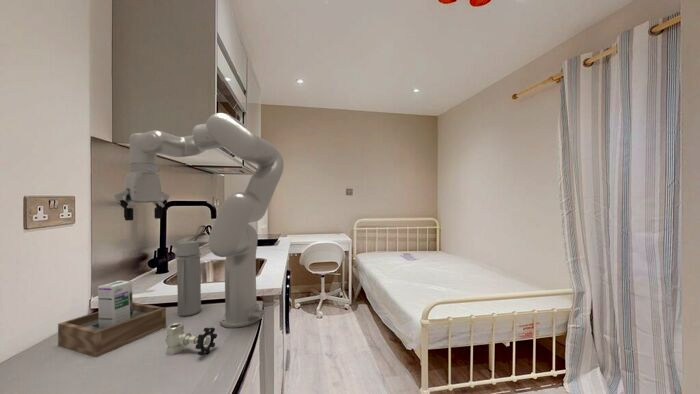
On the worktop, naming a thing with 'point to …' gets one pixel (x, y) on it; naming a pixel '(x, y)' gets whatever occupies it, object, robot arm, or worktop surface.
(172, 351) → the valve
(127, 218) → the robot arm
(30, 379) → the worktop surface
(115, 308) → the syrup box
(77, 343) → the socket box
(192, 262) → the water bottle
